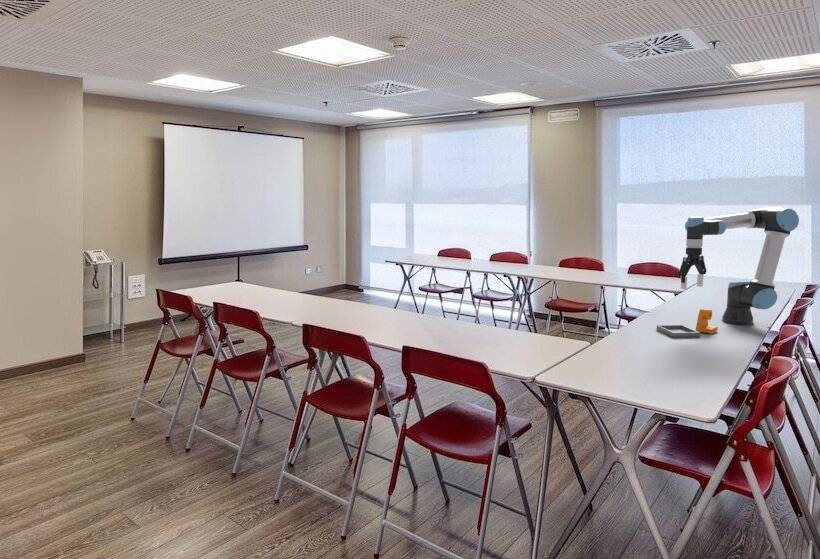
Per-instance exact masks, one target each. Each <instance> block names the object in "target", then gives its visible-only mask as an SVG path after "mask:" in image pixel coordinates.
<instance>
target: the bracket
mask: <svg viewBox="0 0 820 559" xmlns="http://www.w3.org/2000/svg"><path fill="white" fill-rule="evenodd" d="M712 317H713V310H712V309H709V308H700V309H699V311H698V316H697V321H696V325H695V330H696V331H698V332H700V333H702V334H703V333H704V334H709V335H710V334H711V335H713V334H715V333H717V331H718V329H719V327H718V326H717V325H712V324H711V325H710V324H709V321H710V320H712Z"/></svg>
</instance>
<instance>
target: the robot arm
mask: <svg viewBox="0 0 820 559" xmlns="http://www.w3.org/2000/svg"><path fill="white" fill-rule="evenodd" d="M799 223H800V217H799V215H798V212H796V210H794V209H793V208H790V207H789V208H788V207H762V208H757V209H751V210H746V211H744V213H736V214H735V213H734V214H728V215H720V216H713V217H705V218H704V217H703V216H690V217H688V218H687V221H686V222H685V224H684V230H685V231H686V239H685V240H686V244H685V246H686V247H685V255H687V257H686V256H684V257H682V262H681V265H680V268H679V270H678V274H677V275H678V276H679V277H680V290H687V286H688V276H687V275H688V273H689V271H690V269H692V267H693V266H694V267H695V268H696V270H697V278H696V279H697V280H696V287H701V288H703V285H704V275H706V273H707V272H708V271H707V268H706V264H705V258H704V257H705V256H704V255H702V254H703V248H702V247H703V240H704V239H703V238H704V236H718V235H719V236H720V235H723V234H724V233H725V232H726V230H732V229H740V228H746V229H762V230H763V229H764V230H763V232H764V233H765V239H764V242H763V246H762V250H761V253H760V258H759V261H758V264H757V268H756V271H755V275H754V278H752V279H751V280H749V281H748V280H744V281H743V280H742V281H741V280H740V281H735V280H734V281H730V282H729V283H728V287H727V299H726V308H725V310H724V312H723V315H722V317H721V318H722V319H721V321H722V322H724V323H728V324H732V325H734V324H735V325H741V326H742V325H744V326H745V325H752V324H754V317H753V314H752V309H751V308H754V309H757V310H769V309H771V308H772V307H773V306H774V305H775V304H776V303H777V301H778V294H777V291H776V290H775V289H776V288H775V287H776V285H775V284H774V278H775V276H776V272H777V269H778V264H779V261H780V258H781V256H782V255H781V254H782V250H783V247H784V244H785V241H786V238H787V237H789V236H790V234H791V232H792V231H794V230H796V229H797V227H798V226H799Z"/></svg>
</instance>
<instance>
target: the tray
mask: <svg viewBox="0 0 820 559" xmlns="http://www.w3.org/2000/svg"><path fill="white" fill-rule="evenodd" d="M656 331H658V332H660V333H662V334H665V335H666V336H668V337H670V338H672V339H678V338H679V339H681V338H683V339H684V338H685V339H688V338H690V339H691V338H700V337H701V332H698V331H696V329H693V328H691V327H688V326H686V325H683V324H658V325H656Z"/></svg>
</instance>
